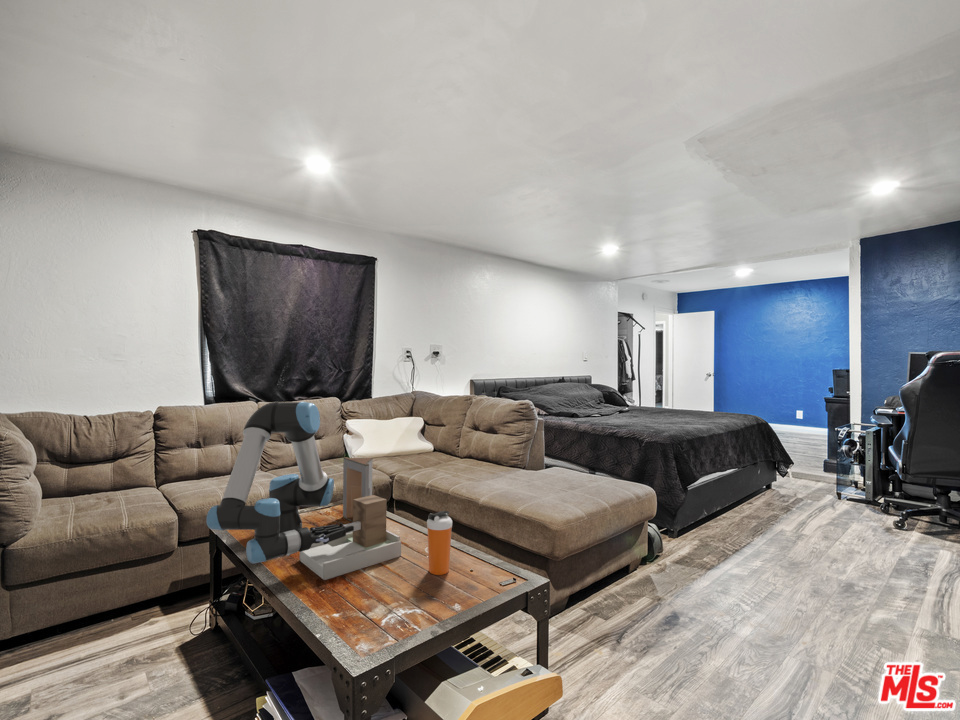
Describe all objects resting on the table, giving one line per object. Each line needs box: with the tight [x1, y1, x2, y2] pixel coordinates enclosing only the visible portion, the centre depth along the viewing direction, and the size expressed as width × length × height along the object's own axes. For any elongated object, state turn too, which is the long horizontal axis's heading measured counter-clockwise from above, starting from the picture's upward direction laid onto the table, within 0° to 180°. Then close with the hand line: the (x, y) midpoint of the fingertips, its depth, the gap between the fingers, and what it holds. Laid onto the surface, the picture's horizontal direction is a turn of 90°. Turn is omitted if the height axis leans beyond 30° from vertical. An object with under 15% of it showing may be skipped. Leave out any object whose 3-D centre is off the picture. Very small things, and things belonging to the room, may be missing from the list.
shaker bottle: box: [426, 510, 453, 576], centre depth 164 cm, size 9×9×20 cm
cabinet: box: [342, 456, 374, 523], centre depth 215 cm, size 21×10×28 cm, turn 43°
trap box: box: [299, 529, 402, 581], centre depth 173 cm, size 21×30×7 cm
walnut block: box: [352, 494, 388, 548], centre depth 180 cm, size 9×9×16 cm
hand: (359, 525), depth 176 cm, fingers closed
